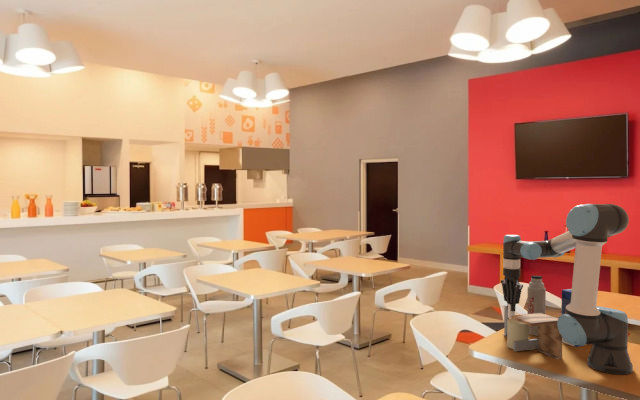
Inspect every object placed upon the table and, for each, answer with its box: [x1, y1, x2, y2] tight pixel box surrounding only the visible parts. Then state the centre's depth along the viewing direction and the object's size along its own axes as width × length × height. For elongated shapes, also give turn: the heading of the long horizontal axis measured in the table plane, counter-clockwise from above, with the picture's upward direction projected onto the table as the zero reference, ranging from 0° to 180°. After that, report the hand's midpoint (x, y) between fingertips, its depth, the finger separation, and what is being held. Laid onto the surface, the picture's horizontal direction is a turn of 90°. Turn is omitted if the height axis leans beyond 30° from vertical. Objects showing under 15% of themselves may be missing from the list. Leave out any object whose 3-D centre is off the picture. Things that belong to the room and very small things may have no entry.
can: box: [506, 318, 530, 350], centre depth 207 cm, size 9×9×12 cm
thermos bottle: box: [526, 275, 547, 337], centre depth 226 cm, size 8×8×28 cm
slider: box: [503, 304, 539, 352], centre depth 211 cm, size 21×13×14 cm, turn 17°
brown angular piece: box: [502, 313, 563, 360], centre depth 206 cm, size 34×16×16 cm, turn 17°
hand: (511, 317), depth 219 cm, fingers closed
